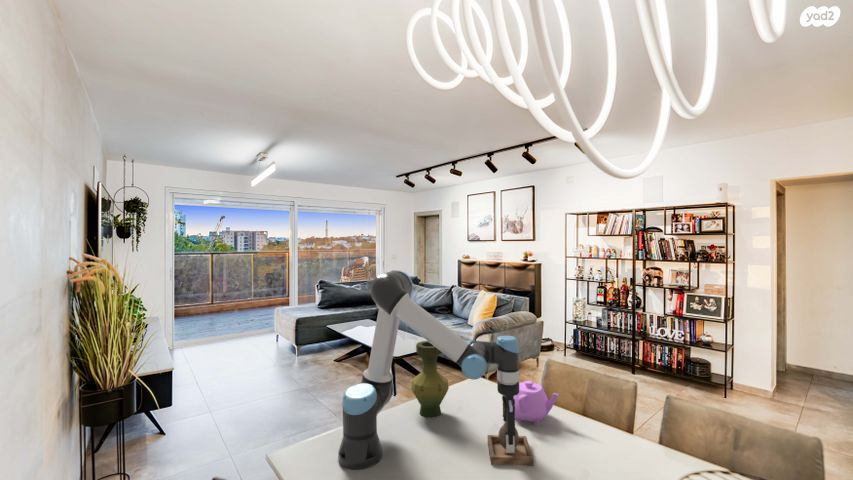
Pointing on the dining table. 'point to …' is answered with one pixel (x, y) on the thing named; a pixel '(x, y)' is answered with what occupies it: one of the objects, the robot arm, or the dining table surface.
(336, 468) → the dining table surface
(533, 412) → the teapot
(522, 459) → the walnut tray
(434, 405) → the vase
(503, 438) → the vase
